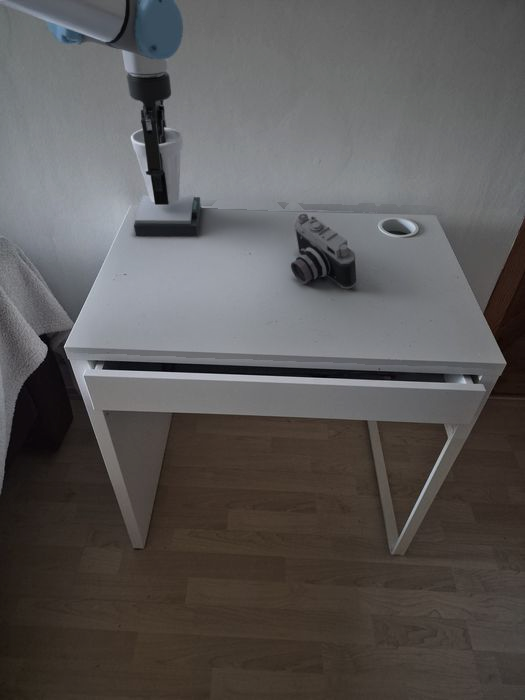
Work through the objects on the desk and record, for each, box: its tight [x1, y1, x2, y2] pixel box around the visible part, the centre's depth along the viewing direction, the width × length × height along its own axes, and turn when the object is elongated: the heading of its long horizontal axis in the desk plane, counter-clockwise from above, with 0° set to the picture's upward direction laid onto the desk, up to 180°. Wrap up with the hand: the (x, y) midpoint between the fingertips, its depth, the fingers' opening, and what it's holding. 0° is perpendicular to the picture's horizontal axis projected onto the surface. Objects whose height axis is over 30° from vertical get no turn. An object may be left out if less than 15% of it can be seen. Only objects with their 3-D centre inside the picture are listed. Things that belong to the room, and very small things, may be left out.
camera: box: [290, 213, 357, 289], centre depth 83 cm, size 16×9×10 cm, turn 34°
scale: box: [133, 194, 202, 237], centre depth 98 cm, size 13×13×4 cm
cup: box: [130, 127, 183, 204], centre depth 91 cm, size 10×10×13 cm
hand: (164, 193), depth 95 cm, fingers closed on cup, 8 cm apart
